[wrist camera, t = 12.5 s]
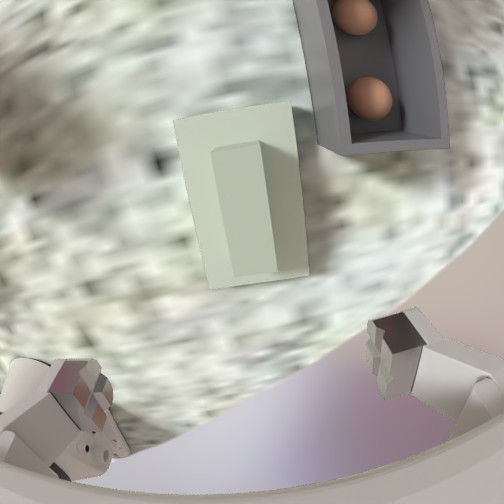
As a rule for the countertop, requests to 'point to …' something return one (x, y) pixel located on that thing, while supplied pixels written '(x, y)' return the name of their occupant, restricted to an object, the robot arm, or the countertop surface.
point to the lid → (245, 193)
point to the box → (378, 66)
